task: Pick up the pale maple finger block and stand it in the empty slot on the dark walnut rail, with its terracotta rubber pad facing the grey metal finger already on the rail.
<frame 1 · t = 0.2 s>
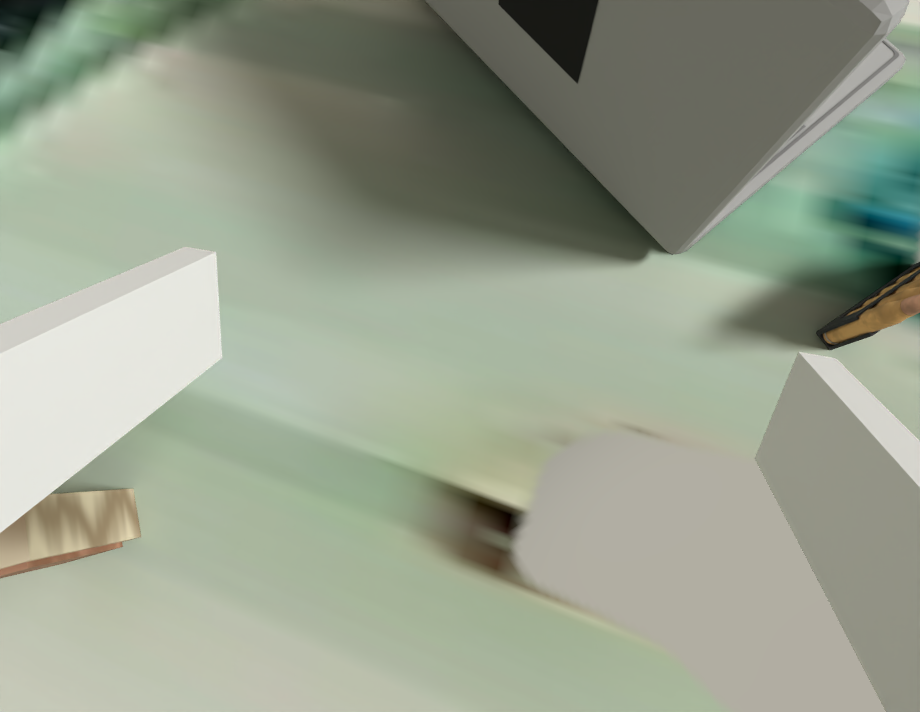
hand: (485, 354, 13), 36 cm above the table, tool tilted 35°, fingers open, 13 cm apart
laptop: (640, 39, 55), on the table
maple finger: (95, 524, 48), on the table
ammunition clip: (871, 307, 49), on the table
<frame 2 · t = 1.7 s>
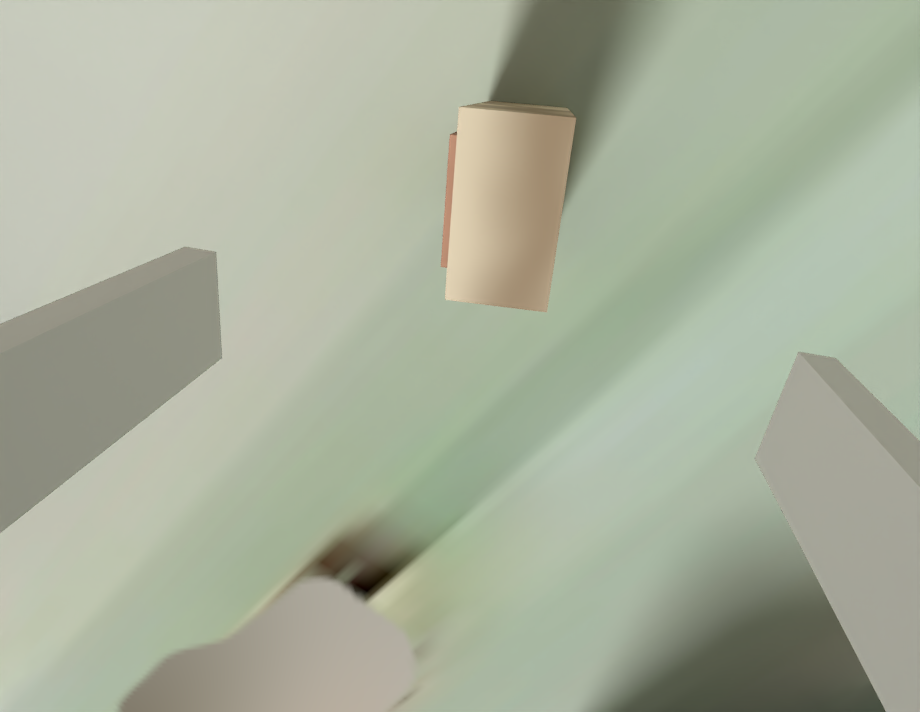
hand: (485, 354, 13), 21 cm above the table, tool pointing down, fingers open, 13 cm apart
maple finger: (520, 173, 32), on the table
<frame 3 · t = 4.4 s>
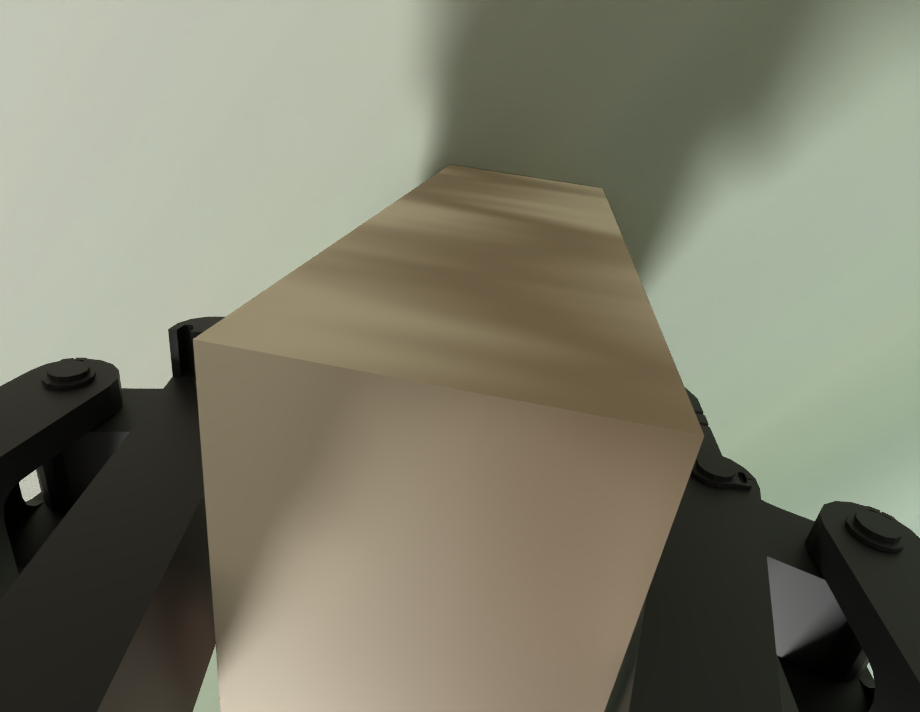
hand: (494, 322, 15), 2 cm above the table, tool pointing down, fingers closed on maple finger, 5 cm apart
maple finger: (504, 302, 17), on the table, touching gripper
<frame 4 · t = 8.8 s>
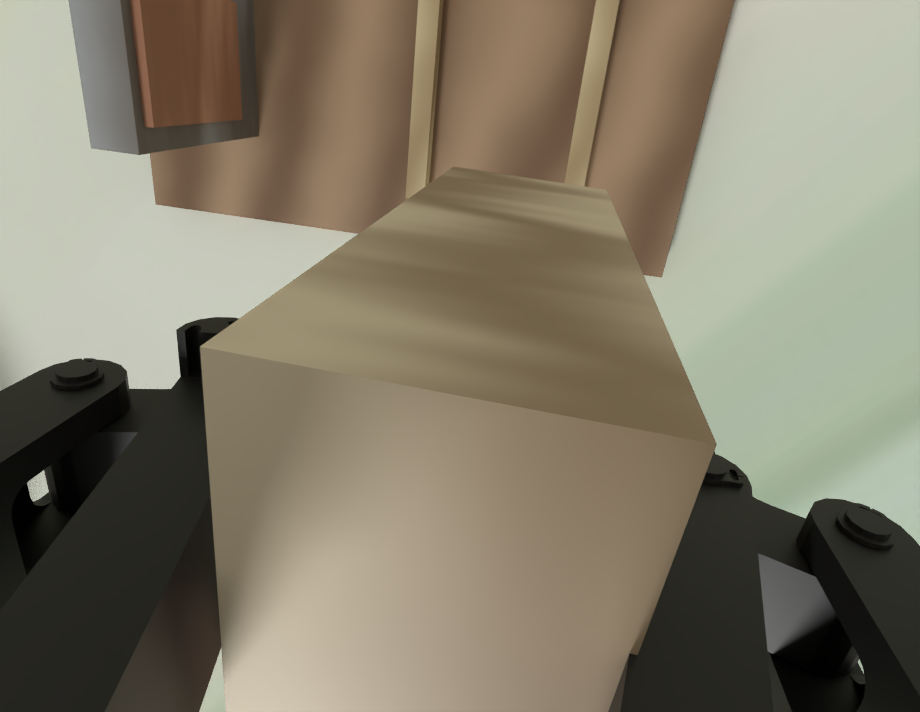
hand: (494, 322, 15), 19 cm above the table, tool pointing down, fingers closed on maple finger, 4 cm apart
maple finger: (507, 304, 17), point 17 cm above the table, touching gripper
rail: (414, 82, 31), on the table
when the fingers open (4 cm above the table, at t = 12.9 s): maple finger stays where it is, resting on rail.
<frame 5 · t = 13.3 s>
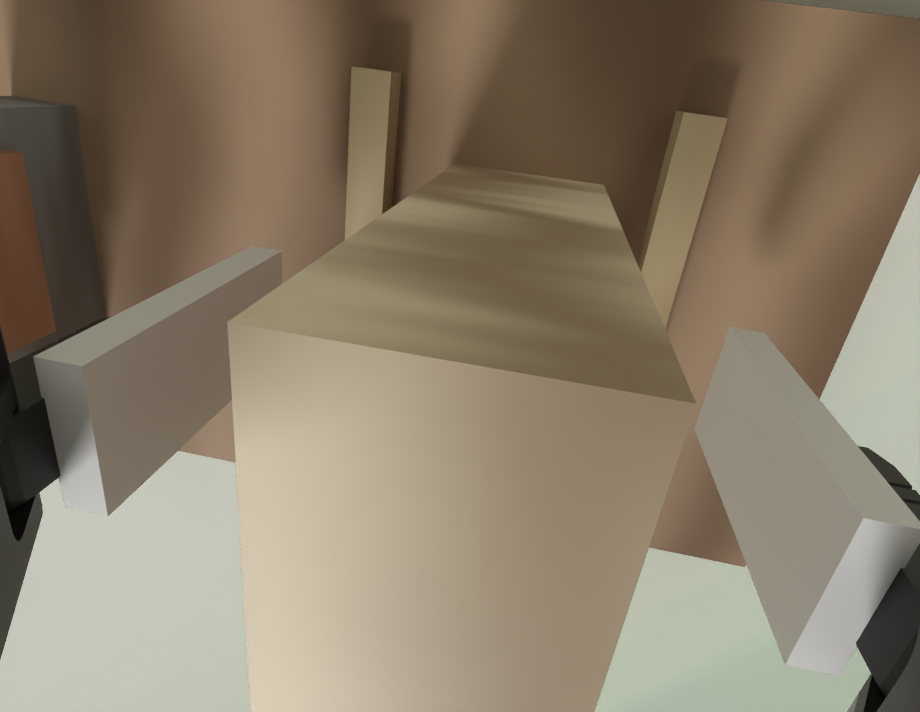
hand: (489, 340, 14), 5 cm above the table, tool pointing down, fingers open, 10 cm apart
maple finger: (508, 297, 17), point 1 cm above the table, touching rail
rail: (354, 255, 19), on the table
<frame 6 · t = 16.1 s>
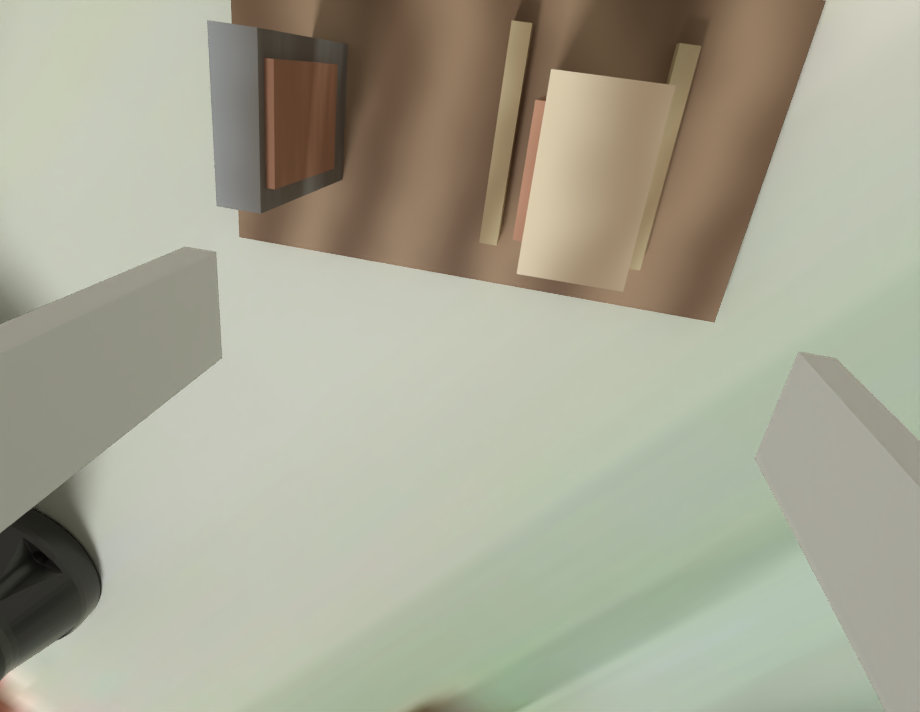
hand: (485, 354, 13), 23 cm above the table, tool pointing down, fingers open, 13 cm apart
maple finger: (583, 152, 31), point 1 cm above the table, touching rail
rail: (490, 135, 33), on the table
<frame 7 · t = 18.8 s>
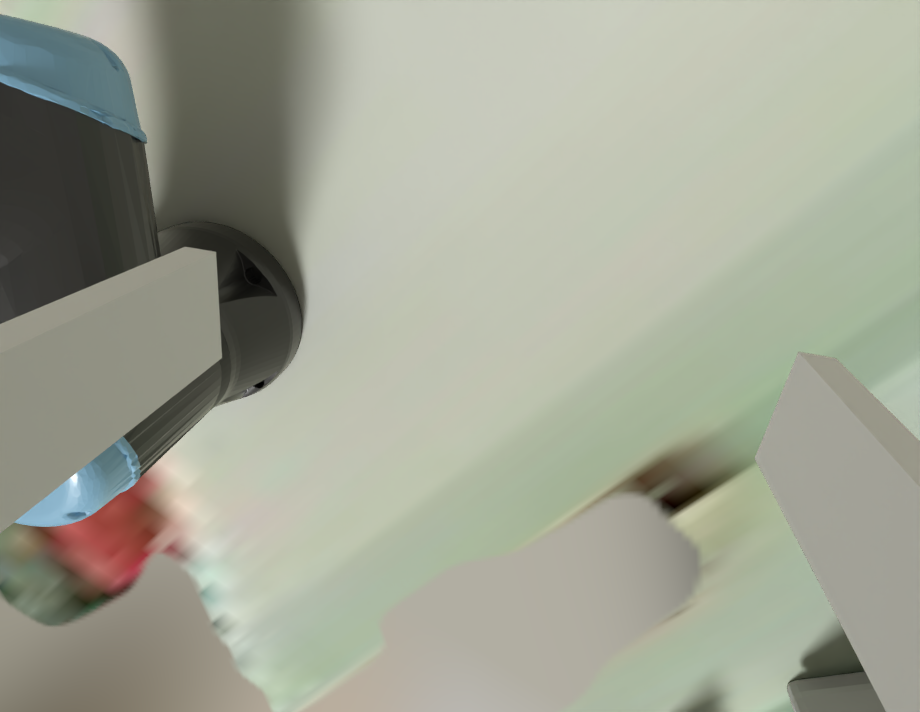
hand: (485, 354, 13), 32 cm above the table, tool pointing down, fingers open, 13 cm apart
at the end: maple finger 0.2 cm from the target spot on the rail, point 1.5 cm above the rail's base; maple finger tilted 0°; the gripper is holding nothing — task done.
